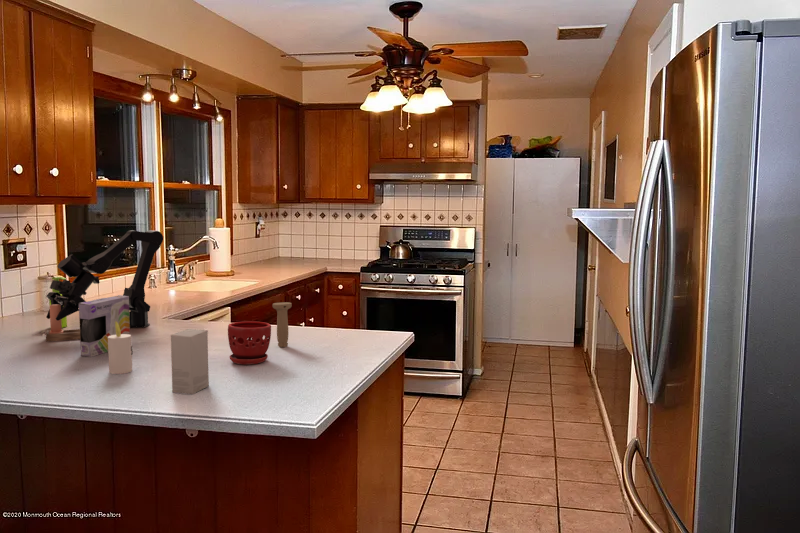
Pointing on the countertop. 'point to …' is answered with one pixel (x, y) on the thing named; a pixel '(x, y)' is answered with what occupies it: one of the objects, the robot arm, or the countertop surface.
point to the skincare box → (189, 361)
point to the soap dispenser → (63, 320)
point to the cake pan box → (102, 323)
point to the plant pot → (249, 342)
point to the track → (63, 335)
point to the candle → (120, 352)
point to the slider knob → (55, 325)
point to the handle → (282, 322)
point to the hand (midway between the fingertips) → (51, 319)
